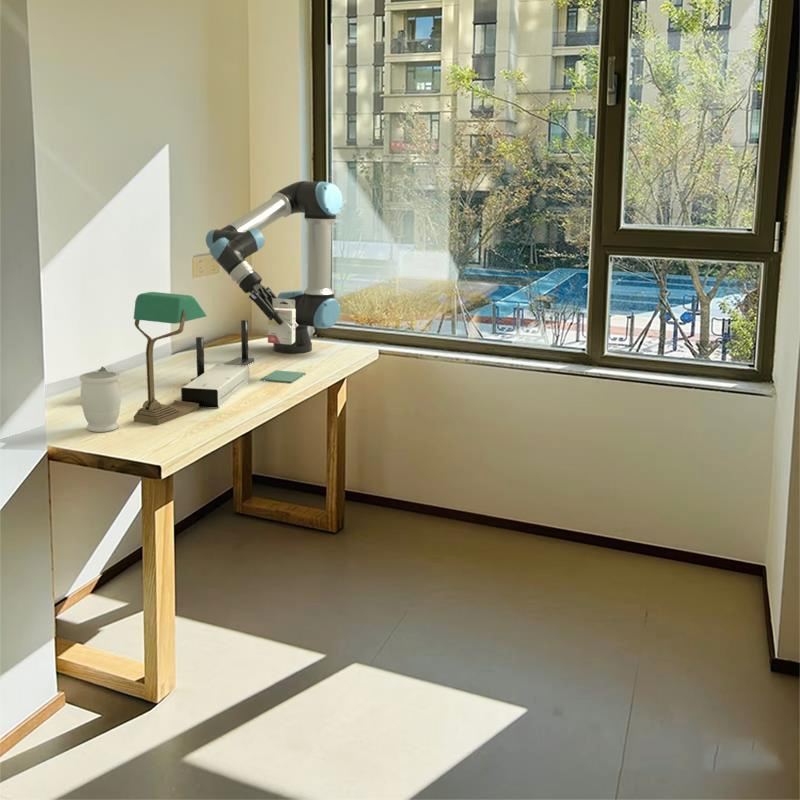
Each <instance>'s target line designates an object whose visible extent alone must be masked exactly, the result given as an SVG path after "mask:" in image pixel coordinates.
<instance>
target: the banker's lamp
mask: <svg viewBox="0 0 800 800" xmlns="http://www.w3.org/2000/svg"><path fill="white" fill-rule="evenodd" d="M134 301H135V302H134V309H133V311H134V312H133V320H134V326H135V328H136V329H137V330H138V331H139V332H140V333H141V334H142V335H143V336H144V337H145V338H146V339H147V341H146V346H145V347H146V348H145V359H146V360H145V361H146V362H145V363H146V381H147V383H146V384H147V400H145V401H144V402H143V404H142V407H141V408H139V409H137V412H135V414H134V415H133V422H135V423H136V422H137V423H141V424H142V423H143V424H149V425H155V426H161V425H163V424H166V423H168V422H170V421H173V420H175V419H178V418H180V417H183V416H186V415H188V414H190V413H193V412H196V411H199V410H200V407H199V403H192V402H185V401H182V400H176V399H174V400H173V402H172V403H169V404H162V403H161V402H159V401H158V400H157V399H155V398H156V397H155V374H154V373H155V372H154V345H155V342H157V341H158V340H161V339H162V340H163V339H165V338H169V337H172V336H176V335H180V334H181V333H183V331H184V327H185V323H186V322H189V321H194V320H197V319H201V318H206V317H207V316H208V315H207V314H206V312H205V310H203V308H202V307H201V305H200V304H199V303H198V300H197V299H196V298H195V297H193V296H192V295H187V294H177V293H170V292H169V293H168V292H158V291H157V292H155V291H149V292H148V291H147V292H143V293H139V294H138V295H137V296H136V298H135V300H134ZM140 321H147V322H156V323H157V322H158V323H166V324H172V325H173V324H174V325H175V324H179V327H178V329H176V330H175V331H172V332H169V333H165V334H163V335H159V336H156V337H154V338H152V337H150V336H149V334H147V333H145V331H143V330H142V329H141V328H140V326H139V325H140Z"/></svg>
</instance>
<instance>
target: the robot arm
mask: <svg viewBox="0 0 800 800" xmlns="http://www.w3.org/2000/svg"><path fill="white" fill-rule="evenodd" d="M343 199H344V198H343V195H342V192H341V190H340V189H339V188H338V186H337V185H336V184H334V183H332V182H327V181H307V180H301V181H297V182H293V183H291V184H289V185H287V186H285V187H283V188H281V189H279V190H278V191H276V192H275V193H273V195H272V196H271V198H270V199H268V200H267V201H265V202H263V203H261V204H260V205H258V206H257V207H255V208H254V209H252V210H250V211H249V212H247V213H246V214H244V215H242V216H241V217H239V218H237V219H236V220H234V221H232V222H231V223H229V224H228V225H226V226H223V228H221V229H217V228H216V229H211V230H209V231H208V232H207V234H206V235H205V236H206V237H205V243H206V246H207V248H208V249H209V253H210V255H211V256H212V258H213V259H214V260H215V262H217V264H219V266H220V267H221V268H222V269H223V270H224V271H225V272H226V274H228V276H229V277H230V278H231V281H234V282H235V284H237V285H238V287H239V288H240V289H241V290H242V292H244V294H249V293H250V295H248V298H249V299H251V301H252V302H254V303H255V305H257V307H258V308H259V309H260V311H262V313H263V314H264V315H265V316H266V317H267V319H268V318H269V319H270V320H272V319H274V321H275V322H276V323H277V324H278V325H279V326H280V327H281V328H282V330H283V331H284V332H285V333H288V332H289V331H290V330H291V329H292V327H291V326H290V325H289V324H288V323H287V322H286V320H285V319H284V318H283V317H282V316H281V315H280V314H278V313H277V312H276V311H275V309H274V308H273V304H272V299H273V298H275V299H290V300H295V309H296V320H295V321H296V322H295V342H294V343H293V344H291V345H290V344H276V343H272V344H273V346H272V347H273V351H275V352H278V353H286V354H296V353H297V354H300V353H301V354H302V353H308V352H310V351H313V343H312V340H311V337H310V333H309V331H308V327H312V328H315V329H330V328H332V327H334V326H335V324H336V322H338V320H339V318H340V316H341V315H340V314H341V305H340V303H339V301H338V300H337V299H335V291H333V290H332V288H331V282H332V281H331V280H332V279H331V277H332V271H331V270H332V225H333V223H334V222H335V221H336V220H337V215H338V214H339V213H340V212H341V210H342V208H343V204H344V203H343V202H344V200H343ZM300 213H301V214H302V213H303V214H304V217H303V218H304V220H305V221H306V222H307V223H308V231H307V233H308V235H307V236H308V239H307V240H308V241H307V245H308V246H307V288H306V289H302V290H290V291H281V292H279V293H278V295H276V294H275V293H274V292H273V291H272V289H271V288H270V287H269V286H268V287H265V286H264V285H262V284H261V283H262V279H263V278H262V277H261V275H259V273H258V272H257V271H255V270H254V268H253V267H252V265H251V264H250V263H249V262H248V261H247V260H246V258H248V257H250V256H251V255H253V254H255V253H257V252H259V250H261V249H262V248H263V247H264V246H265V243H266V242H265V238H264V235H263V233H262V232H261V230H263V229H264V228H266V227H267V226H269V225H271V224H272V223H274V222H276V221H277V220H279V219H281V218H282V217H283V218H287V217H289V216H291V215H293V214H300ZM280 304H288V303H286V302H280ZM277 314H278V315H277Z"/></svg>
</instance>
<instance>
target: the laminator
mask: <svg viewBox="0 0 800 800" xmlns="http://www.w3.org/2000/svg"><path fill="white" fill-rule="evenodd" d="M196 377H197V376H196ZM247 383H248V384H249V383H250V365H247V366H244V365H225V363H222V364H221V363H216V364H215V365H214V366H212V367H211V368H209V369H207V370H206V371H204V373H203V374H202V375H200V376H199V377H197V378H196V379H194V380H193V381H191V380H190V382H189V383H187V384H186V385H184V386H182V387H181V388H180V390H181V392H180V394H181V396H180V397H181V401H185V402H192V403H199V408H209V407H219V406H221V405H222V404H223V403H224V402H225V401H227V400H228V399H229V398H230V397H231V396H232V395H234V394H235V393H236V392H237V391H239V390H240V389H241V388H242V387H244V386H245V385H246V384H247ZM248 384H247V385H248ZM247 385H246V386H247ZM246 386H245V387H246ZM245 387H244V388H245ZM242 389H243V388H242ZM242 389H241V390H242ZM241 390H240V391H241ZM240 391H239V392H240ZM236 394H237V393H236ZM236 394H235V395H236ZM235 395H234V396H235ZM230 399H231V398H230ZM230 399H229V400H230ZM229 400H228V401H229ZM228 401H227V402H228ZM225 403H226V402H225ZM225 403H224V404H225ZM224 404H223V405H224ZM223 405H222V406H223ZM222 406H221V407H222ZM219 408H220V407H219Z"/></svg>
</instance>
